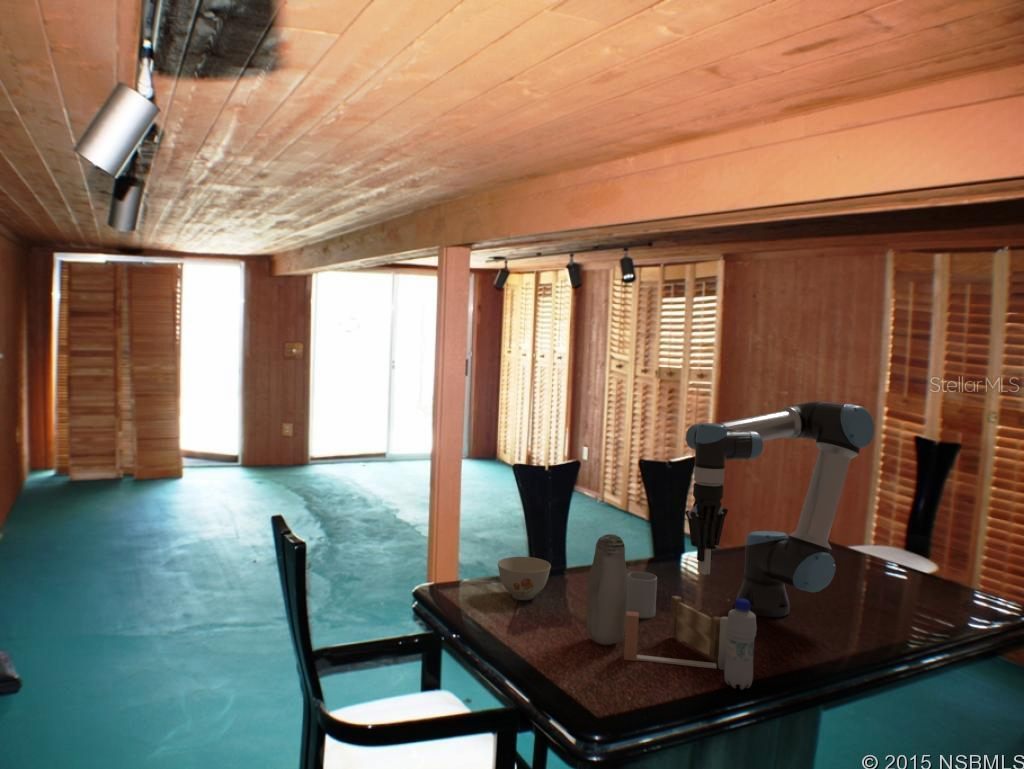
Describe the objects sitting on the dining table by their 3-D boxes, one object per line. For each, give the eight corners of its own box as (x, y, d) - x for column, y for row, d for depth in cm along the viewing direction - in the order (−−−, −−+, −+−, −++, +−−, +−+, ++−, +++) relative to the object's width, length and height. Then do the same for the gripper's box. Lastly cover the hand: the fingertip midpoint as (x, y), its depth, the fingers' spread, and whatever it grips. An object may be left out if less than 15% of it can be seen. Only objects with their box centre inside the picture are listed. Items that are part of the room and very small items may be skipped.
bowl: (487, 600, 223) (489, 566, 222) (508, 585, 238) (509, 553, 237) (538, 609, 217) (540, 575, 216) (556, 593, 232) (558, 561, 231)
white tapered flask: (615, 653, 188) (621, 542, 186) (578, 643, 193) (583, 535, 191) (631, 641, 196) (636, 535, 194) (595, 632, 201) (600, 528, 200)
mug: (661, 616, 215) (663, 579, 214) (635, 620, 212) (637, 581, 211) (638, 603, 226) (639, 566, 225) (613, 605, 222) (615, 569, 222)
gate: (719, 658, 185) (721, 618, 184) (713, 659, 184) (715, 619, 183) (674, 632, 201) (676, 595, 200) (669, 633, 200) (671, 596, 199)
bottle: (718, 678, 176) (723, 594, 175) (746, 678, 176) (751, 594, 175) (729, 691, 169) (734, 604, 168) (758, 691, 170) (763, 604, 168)
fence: (730, 665, 183) (733, 617, 182) (732, 671, 180) (735, 622, 179) (624, 654, 187) (626, 607, 187) (624, 659, 184) (626, 611, 184)
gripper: (716, 479, 202) (711, 566, 203) (679, 482, 195) (674, 571, 196) (737, 484, 195) (732, 574, 196) (700, 487, 189) (695, 580, 190)
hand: (703, 572), depth 196 cm, fingers closed
